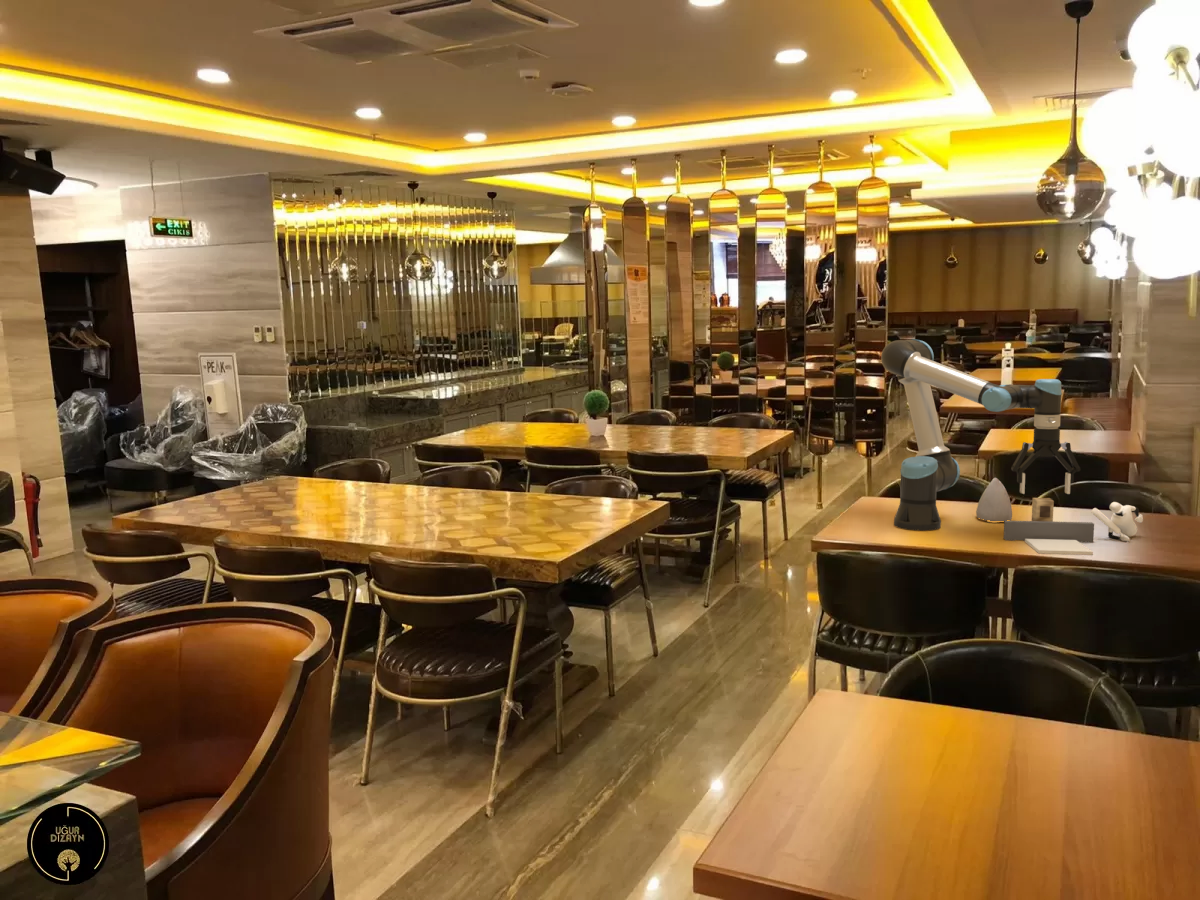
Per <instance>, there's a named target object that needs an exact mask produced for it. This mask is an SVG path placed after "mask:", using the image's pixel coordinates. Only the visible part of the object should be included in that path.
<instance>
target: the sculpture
mask: <svg viewBox="0 0 1200 900" xmlns="http://www.w3.org/2000/svg"><path fill="white" fill-rule="evenodd" d="M975 513H976V518H980V519H979V520H982V519H984V520H983V521H986V520H990V521H1007V520H1010V521H1012V519H1013V508H1012V504H1011V500H1010V496H1009V494H1008V492H1007V489H1006V488H1005V486H1004V484H1003V483H1002V481H1000V480H999V479H998V478H997V477H994V478H993V479H992V480H991V481H990V482H989V484H988V485H987V486H986V488H985V490H984V491H983V493H982V494H981V497H980V499H979V501H978V504H977V507H976V511H975Z"/></svg>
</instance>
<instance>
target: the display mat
mask: <svg viewBox="0 0 1200 900" xmlns="http://www.w3.org/2000/svg"><path fill="white" fill-rule="evenodd" d="M1024 543H1026V544H1027V545H1028V546H1029V547H1030V548H1032V550H1034V551H1035V552H1036V553H1038V554H1039V555H1040V554H1042V555H1045V554H1046V555H1075V556H1076V555H1081V556H1082V555H1084V556H1093V555H1094V551H1093V550H1091V549H1090V548H1088V547H1087V546H1085V545H1084V544H1083V543H1082V542H1078V541H1077V540H1056V539H1025V541H1024Z"/></svg>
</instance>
